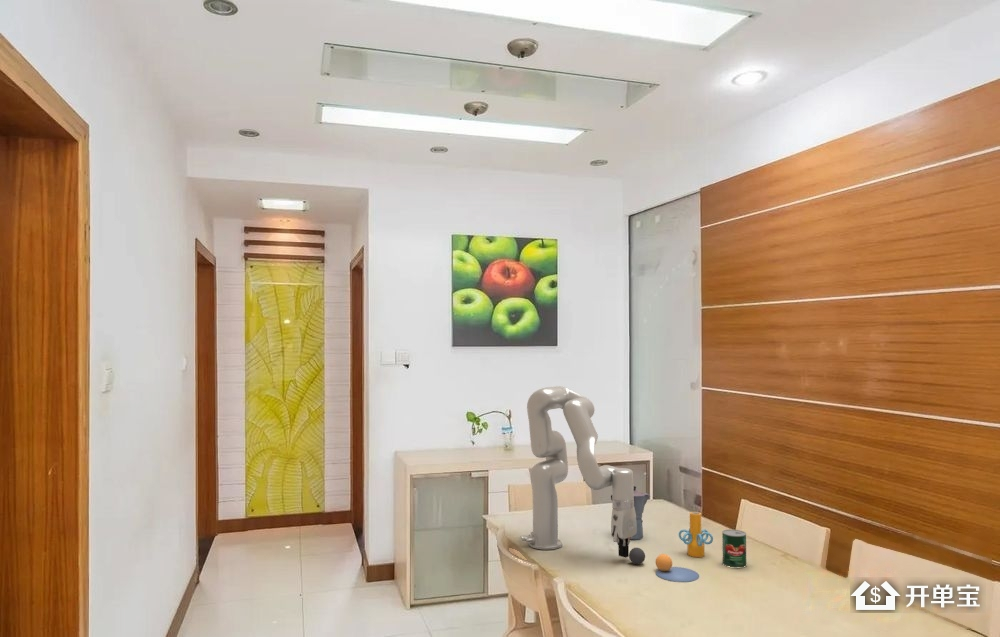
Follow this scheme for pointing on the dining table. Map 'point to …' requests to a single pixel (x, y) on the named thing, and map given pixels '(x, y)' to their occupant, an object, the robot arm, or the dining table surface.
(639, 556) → the dark grey ball
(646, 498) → the moka pot
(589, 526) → the dining table surface
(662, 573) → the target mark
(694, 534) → the cylinder
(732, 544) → the canned tomato
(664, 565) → the object ball
